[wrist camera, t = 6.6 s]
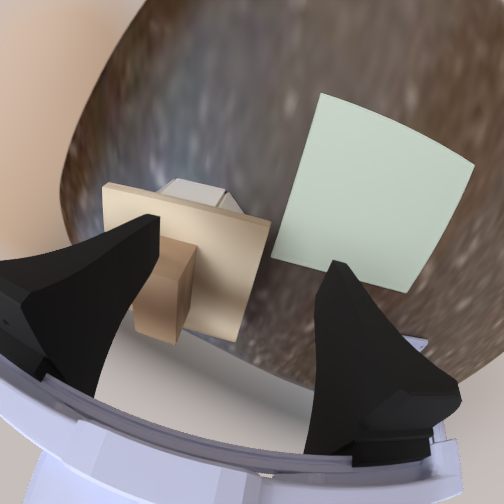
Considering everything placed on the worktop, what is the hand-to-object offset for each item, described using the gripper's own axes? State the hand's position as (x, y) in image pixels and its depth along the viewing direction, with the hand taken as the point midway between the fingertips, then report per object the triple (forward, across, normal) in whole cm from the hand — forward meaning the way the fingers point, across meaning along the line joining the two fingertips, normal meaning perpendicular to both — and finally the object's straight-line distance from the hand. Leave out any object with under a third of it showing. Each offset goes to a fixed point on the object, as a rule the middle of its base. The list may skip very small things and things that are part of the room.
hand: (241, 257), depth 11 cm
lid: (+6, +4, +6) cm, 10 cm away
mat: (+10, -8, 0) cm, 13 cm away
